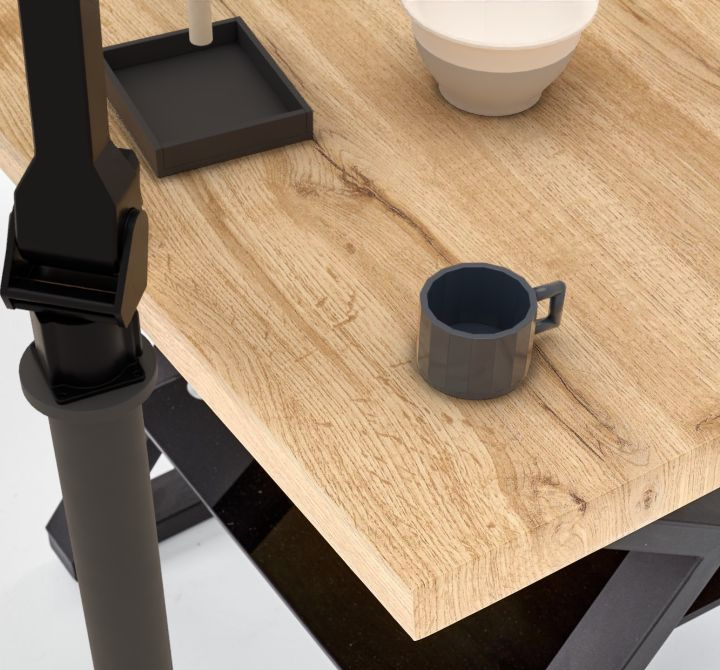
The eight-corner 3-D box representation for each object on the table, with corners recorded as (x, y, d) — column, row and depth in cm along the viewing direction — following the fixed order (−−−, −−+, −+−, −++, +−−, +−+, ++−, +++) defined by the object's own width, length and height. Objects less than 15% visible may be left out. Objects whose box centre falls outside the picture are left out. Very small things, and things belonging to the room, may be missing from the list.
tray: (158, 178, 122) (155, 150, 120) (94, 77, 131) (90, 49, 129) (313, 138, 126) (313, 110, 124) (241, 43, 135) (240, 15, 133)
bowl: (406, 146, 126) (410, 50, 119) (385, 37, 136) (388, -56, 130) (603, 138, 127) (618, 42, 120) (567, 31, 137) (579, -62, 131)
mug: (448, 413, 106) (453, 351, 102) (397, 341, 110) (400, 280, 106) (586, 368, 109) (596, 307, 105) (530, 301, 113) (538, 239, 109)
